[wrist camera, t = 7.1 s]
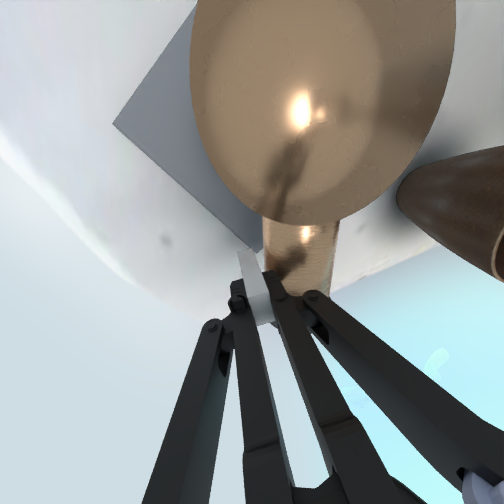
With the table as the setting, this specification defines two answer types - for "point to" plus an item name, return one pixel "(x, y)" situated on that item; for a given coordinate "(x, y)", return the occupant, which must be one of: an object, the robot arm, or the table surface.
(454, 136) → the table surface
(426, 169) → the plant pot
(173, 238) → the table surface
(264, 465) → the robot arm
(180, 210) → the table surface
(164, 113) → the duct stub
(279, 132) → the copper flat bottle shape
